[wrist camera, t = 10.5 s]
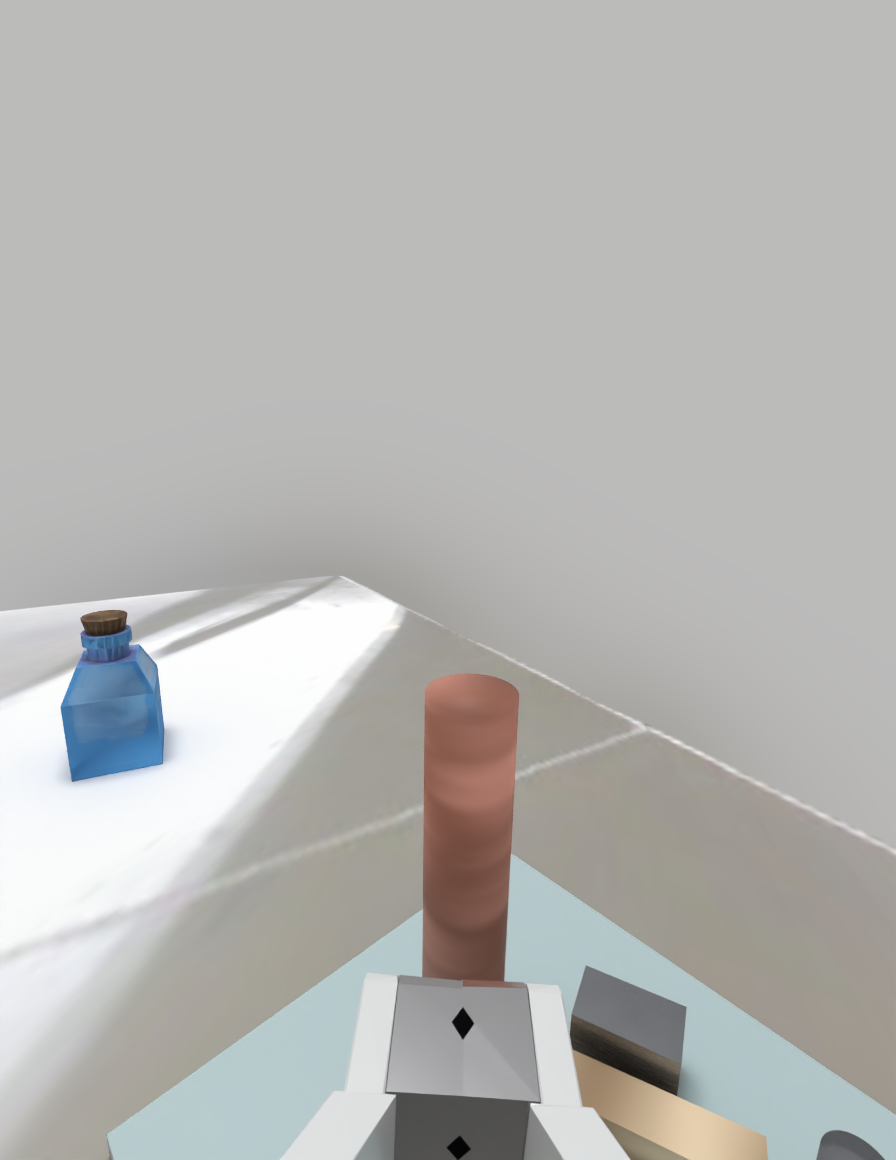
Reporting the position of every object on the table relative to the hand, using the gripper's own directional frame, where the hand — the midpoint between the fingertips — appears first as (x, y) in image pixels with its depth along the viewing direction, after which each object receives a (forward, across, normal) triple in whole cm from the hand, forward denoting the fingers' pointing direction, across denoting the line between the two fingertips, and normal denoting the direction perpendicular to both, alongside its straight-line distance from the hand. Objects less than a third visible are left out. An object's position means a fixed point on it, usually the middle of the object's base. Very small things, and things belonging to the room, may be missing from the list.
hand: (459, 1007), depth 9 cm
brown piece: (+9, -5, +16) cm, 19 cm away
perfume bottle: (+34, +27, +19) cm, 48 cm away
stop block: (+10, -8, +17) cm, 21 cm away
